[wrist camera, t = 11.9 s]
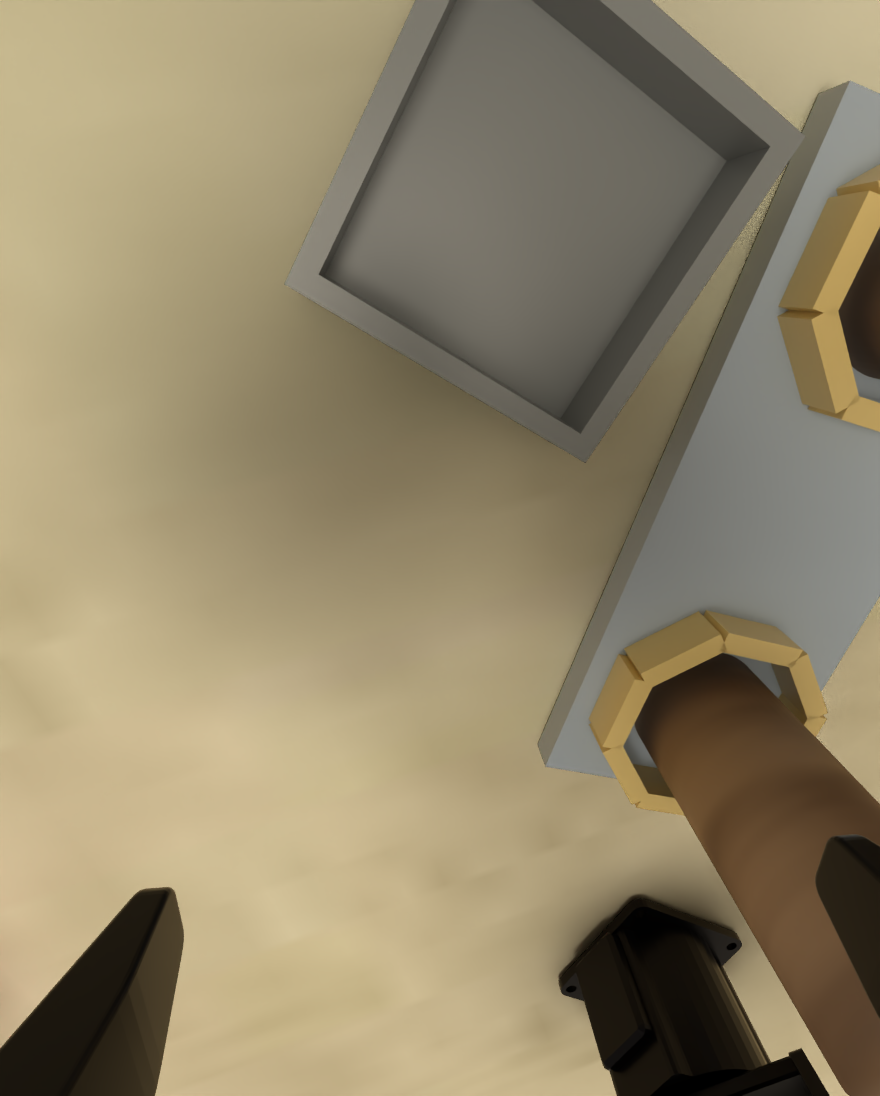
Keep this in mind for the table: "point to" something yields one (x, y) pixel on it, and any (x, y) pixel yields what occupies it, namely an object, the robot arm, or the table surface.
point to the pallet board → (752, 481)
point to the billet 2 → (864, 314)
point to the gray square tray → (541, 201)
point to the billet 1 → (771, 838)
